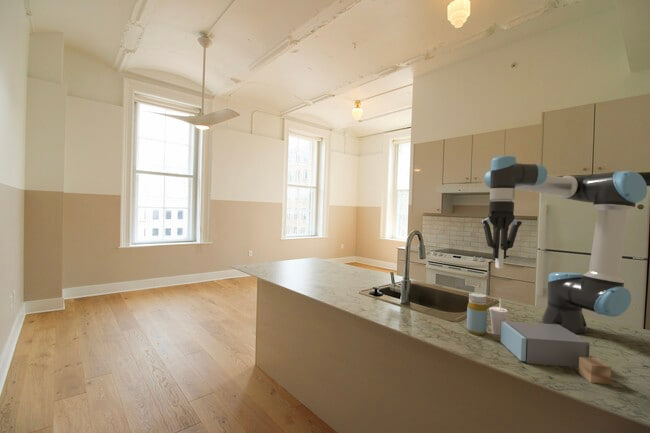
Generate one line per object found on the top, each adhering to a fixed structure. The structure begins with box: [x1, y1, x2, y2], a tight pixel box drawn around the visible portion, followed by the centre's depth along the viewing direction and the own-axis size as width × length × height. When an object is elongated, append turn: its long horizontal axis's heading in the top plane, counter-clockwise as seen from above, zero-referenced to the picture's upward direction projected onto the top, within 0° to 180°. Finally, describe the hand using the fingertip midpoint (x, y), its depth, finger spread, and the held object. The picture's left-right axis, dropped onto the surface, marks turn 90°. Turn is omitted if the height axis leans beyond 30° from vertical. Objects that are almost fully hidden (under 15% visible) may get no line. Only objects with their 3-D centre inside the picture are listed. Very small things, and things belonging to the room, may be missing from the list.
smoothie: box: [489, 298, 509, 336], centre depth 120 cm, size 6×6×14 cm
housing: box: [505, 320, 591, 368], centre depth 103 cm, size 18×15×8 cm
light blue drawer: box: [500, 321, 526, 362], centre depth 104 cm, size 18×14×7 cm
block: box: [577, 357, 612, 385], centre depth 89 cm, size 5×5×5 cm
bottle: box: [466, 292, 488, 336], centre depth 121 cm, size 7×7×15 cm
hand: (499, 267), depth 107 cm, fingers closed
